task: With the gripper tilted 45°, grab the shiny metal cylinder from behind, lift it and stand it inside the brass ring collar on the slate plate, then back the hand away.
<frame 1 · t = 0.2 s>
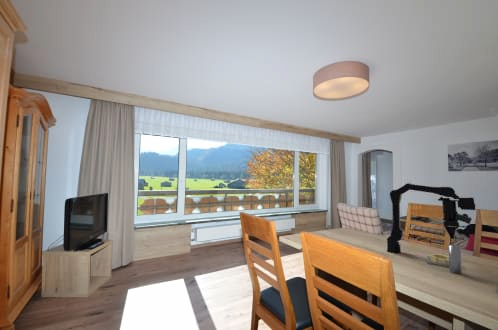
hand: (451, 236, 122), 14 cm above the table, tool pointing down, fingers open, 9 cm apart
shiny metal cylinder: (455, 272, 108), on the table
nut plate: (441, 263, 120), on the table
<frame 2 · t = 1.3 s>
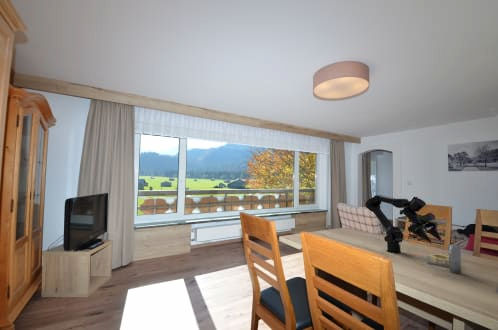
hand: (435, 240, 116), 14 cm above the table, tool tilted 45°, fingers open, 9 cm apart
nothing on the table moved.
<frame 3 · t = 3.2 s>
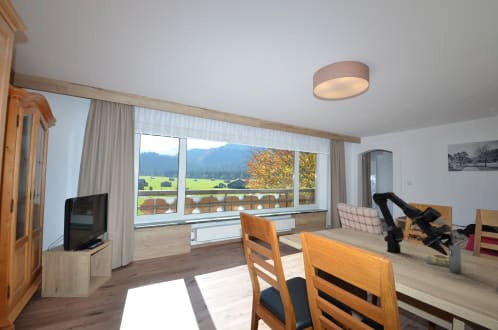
hand: (452, 254, 109), 9 cm above the table, tool tilted 45°, fingers open, 9 cm apart
nothing on the table moved.
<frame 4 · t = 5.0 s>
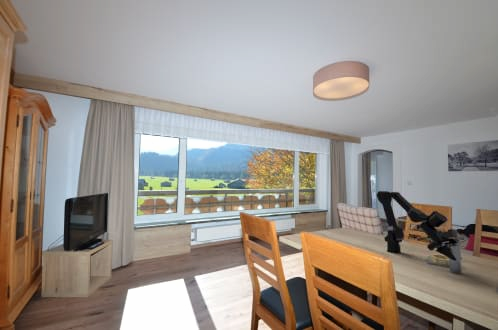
hand: (458, 259, 107), 7 cm above the table, tool tilted 45°, fingers closed on shiny metal cylinder, 4 cm apart
shiny metal cylinder: (455, 272, 108), on the table, touching gripper
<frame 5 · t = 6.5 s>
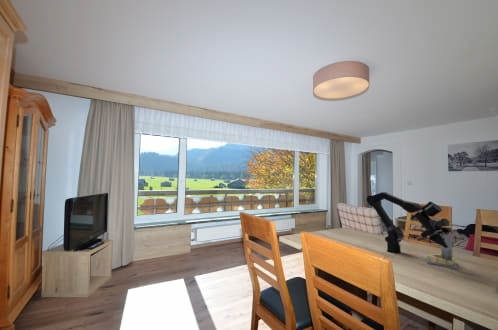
hand: (449, 247, 113), 11 cm above the table, tool tilted 45°, fingers closed on shiny metal cylinder, 4 cm apart
shiny metal cylinder: (447, 259, 114), point 4 cm above the table, touching gripper
when the fingers open (8 cm above the table, at t = 8.4 s): shiny metal cylinder stays where it is, resting on nut plate.
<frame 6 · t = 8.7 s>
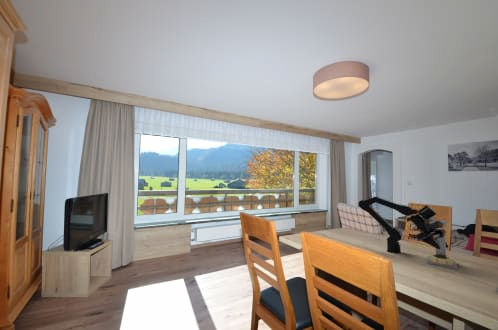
hand: (443, 248, 119), 9 cm above the table, tool tilted 45°, fingers open, 7 cm apart
shiny metal cylinder: (441, 261, 120), point 1 cm above the table, touching nut plate
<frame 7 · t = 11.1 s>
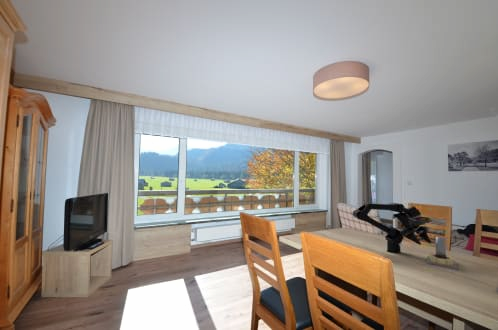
hand: (425, 243, 127), 9 cm above the table, tool tilted 45°, fingers open, 9 cm apart
nothing on the table moved.
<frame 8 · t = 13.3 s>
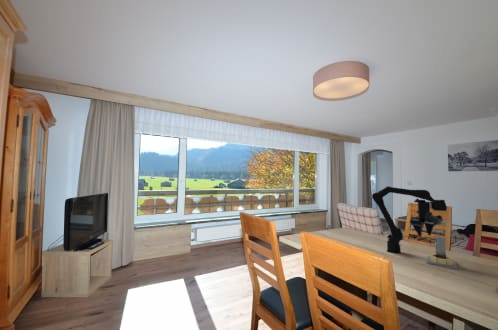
hand: (424, 235, 133), 12 cm above the table, tool pointing down, fingers open, 9 cm apart
nothing on the table moved.
at the end: shiny metal cylinder 0.1 cm from the nut plate (horizontally); shiny metal cylinder tilted 1°; the gripper is holding nothing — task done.
